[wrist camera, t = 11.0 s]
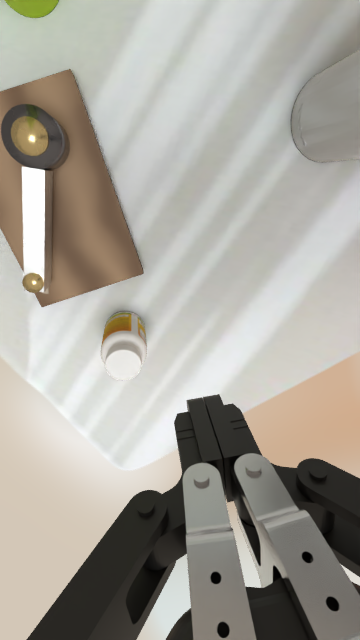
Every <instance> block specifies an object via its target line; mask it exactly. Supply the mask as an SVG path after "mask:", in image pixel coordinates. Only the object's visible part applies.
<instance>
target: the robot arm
mask: <svg viewBox="0 0 360 640" xmlns="http://www.w3.org/2000/svg"><path fill="white" fill-rule="evenodd" d="M291 127H292V134H293V139H294V141H295V143H296V146H297V148H298V149H299V150H300V152H301V153H302V154H303V155H304V156H306V157H307V158H308V159H311V160H313V161H316V162H333V161H345V160H355V159H360V50H358V51H356V52H355V53H353V54H351V55H350V56H348V57H346V58H344V59H343V60H341V61H339V62H337V63H336V64H334V65H332V66H331V67H329V68H327V69H326V70H324V71H322V72H321V73H319V74H317V75H316V76H314V77H313V78H312V79H311V80H310V81H308V82H307V83H306V85H305V86H304V87H303V89H302V90H301V91H300V93H299V95H298V97H297V99H296V102H295V105H294V108H293V112H292V119H291ZM187 408H188V412H184V413H179V414H177V416H176V419H175V422H174V424H175V431H176V437H177V444H178V450H179V456H180V462H181V468H182V476H181V479H180V480H179V482H178V483H177V485H176V486H174V487H173V488H172V489H170V490H169V491H167V492H165V493H163V494H161V493H159V492H157V491H153V490H147V491H142V492H140V493H138V494H136V495H135V496H134V497H133V498H132V499H131V500H130V501H129V503H128V504H127V506H126V507H125V508H124V509H123V511H122V512H121V513H120V515H119V516H118V518H117V519H116V520H115V522H114V523H113V524H112V526H111V527H110V528H109V530H108V531H107V532H106V534H105V535H104V536H103V538H102V539H101V540H100V542H99V543H98V544H97V546H96V547H95V548H94V550H93V551H92V552H91V554H90V555H89V557H88V558H87V559H86V561H85V562H84V563H83V565H82V566H81V567H80V569H79V570H78V572H77V573H76V574H75V575H74V577H73V578H72V579H71V581H70V582H69V583H68V585H67V586H66V588H65V589H64V590H63V592H62V593H61V594H60V596H59V597H58V598H57V600H56V601H55V602H54V604H53V605H52V606H51V608H50V609H49V610H48V612H47V613H46V614H45V616H44V617H43V618H42V620H41V621H40V623H39V624H38V625H37V627H36V628H35V630H34V631H33V632H32V633H31V635H30V636H29V637H28V639H27V640H136V639H137V637H138V635H139V633H140V632H141V630H142V628H143V626H144V624H145V622H146V620H147V618H148V616H149V614H150V612H151V610H152V608H153V607H154V604H155V603H156V600H157V599H158V597H159V595H160V593H161V591H162V589H163V587H164V585H165V583H166V582H167V580H168V577H169V576H170V574H171V572H172V570H173V568H174V566H175V563H176V560H178V559H179V558H180V557H182V556H184V555H185V554H187V560H188V573H189V586H190V599H191V608H190V609H189V610H188V611H187V612H185V613H184V614H183V615H182V617H181V618H180V619H179V620H178V621H177V622H176V624H175V625H174V627H173V628H172V629H171V631H170V633H169V635H168V636H167V638H166V640H360V586H359V585H357V584H355V583H353V582H351V581H350V579H349V578H348V576H347V574H346V573H345V571H344V569H343V568H342V566H341V565H343V566H344V567H346V568H347V569H349V570H350V571H352V572H353V573H355V574H356V575H357V576H359V577H360V478H358V477H355V476H353V475H351V474H349V473H347V472H345V471H343V470H341V469H339V468H337V467H335V466H333V465H331V464H329V463H327V462H325V461H323V460H320V459H314V458H311V459H306V460H303V461H302V462H300V463H299V465H298V467H297V468H289V467H280V466H277V465H274V464H272V463H270V462H269V460H267V459H266V458H265V457H263V456H262V454H261V452H260V450H259V448H258V446H257V444H256V442H255V440H254V438H253V435H252V433H251V431H250V429H249V428H248V425H247V423H246V421H245V419H244V416H243V414H242V412H241V410H240V409H239V408H237V407H236V406H235V405H234V404H228V405H223V402H222V400H221V397H220V395H219V394H218V395H213V396H207V397H203V398H196V399H191V400H187ZM225 495H226V499H227V502H230V501H234V502H235V506H236V508H237V518H238V523H239V525H240V528H241V530H242V533H243V535H244V538H245V540H246V543H247V546H248V548H249V551H250V553H251V556H252V558H253V561H254V563H255V566H256V568H257V571H258V574H259V578H260V581H261V586H262V588H254V587H245V583H244V578H243V574H242V569H241V564H240V559H239V555H238V550H237V545H236V540H235V536H234V532H233V529H232V528H231V525H230V520H229V516H228V510H227V506H226V499H225ZM340 564H341V565H340Z"/></svg>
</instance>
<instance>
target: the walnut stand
mask: <svg viewBox="0 0 360 640" xmlns="http://www.w3.org/2000/svg"><path fill="white" fill-rule="evenodd" d="M20 104H31V105H35V106H37V107H40V108H41V109H43V110H44V111H46V112H47V113H48V114H49V115H51V116H52V117H53V118H54V119H56V120H57V121H58V122H59V123H60V124H61V125H62V126H63V128H64V129H65V131H66V133H67V135H68V138H69V143H70V150H69V155H68V158H67V160H66V161H65V163H64V164H63V165H62V166H60V167H59V168H57V169H54V170H47V171H53V200H52V274H51V284H50V285H49V287H48V288H47V289H46V290H45V292H36V293H35V295H36V297H37V299H38V301H39V303H40V305H41V307H44V306H47V305H50V304H53V303H56V302H59V301H62V300H65V299H68V298H72V297H75V296H78V295H81V294H84V293H87V292H90V291H93V290H96V289H99V288H102V287H105V286H108V285H111V284H114V283H117V282H120V281H123V280H126V279H129V278H132V277H135V276H138V275H141V274H143V268H142V266H141V263H140V260H139V257H138V254H137V252H136V249H135V246H134V243H133V240H132V238H131V235H130V232H129V229H128V226H127V224H126V221H125V218H124V215H123V212H122V209H121V207H120V204H119V201H118V198H117V195H116V193H115V190H114V187H113V184H112V181H111V179H110V176H109V173H108V170H107V167H106V165H105V162H104V159H103V156H102V153H101V151H100V148H99V145H98V142H97V139H96V137H95V134H94V131H93V128H92V125H91V123H90V120H89V117H88V114H87V111H86V109H85V106H84V103H83V100H82V97H81V94H80V92H79V89H78V86H77V83H76V80H75V78H74V75H73V73H72V71H71V70H70V69H69V70H66V71H63V72H60V73H56V74H53V75H50V76H47V77H44V78H41V79H38V80H35V81H32V82H29V83H26V84H23V85H20V86H17V87H13V88H10V89H7V90H4V91H1V92H0V228H1V230H2V232H3V234H4V236H5V238H6V240H7V242H8V243H9V245H10V247H11V249H12V251H13V253H14V255H15V257H16V259H17V261H18V263H19V265H20V266H21V268H22V270H23V272H24V257H23V205H22V166H23V167H26V166H24V165H22V164H20V163H18V162H17V161H16V160H15V159H13V158H12V156H11V155H10V154H9V153H8V151H7V150H6V148H5V146H4V144H3V141H2V137H1V124H2V120H3V118H4V116H5V114H6V113H7V112H8V111H9V110H10V109H11V108H12V107H14V106H17V105H20Z"/></svg>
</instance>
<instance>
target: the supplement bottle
mask: <svg viewBox="0 0 360 640" xmlns="http://www.w3.org/2000/svg"><path fill="white" fill-rule="evenodd" d="M146 355H147V345H146V334H145V326H144V323H143V321H142V320H141V318H140V317H139V316H137V315H136V314H134V313H131V312H118V313H116V314H114V315H112V316H111V317H110V318H109V319H108V321H107V323H106V325H105V329H104V335H103V341H102V346H101V358H102V360H103V362H104V364H105V369H106V371H107V373H108V374H109V375H110V376H111V377H112V378H114V379H116V380H121V381H125V380H130V379H132V378H134V377H136V376H137V375H138V373H139V372H140V370H141V367H142V364H143V363H144V361H145V359H146Z"/></svg>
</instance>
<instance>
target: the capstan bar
mask: <svg viewBox="0 0 360 640" xmlns="http://www.w3.org/2000/svg"><path fill="white" fill-rule="evenodd" d="M1 137H2V141H3V144H4V146H5V148H6V150H7V151H8V153H9V154H10V155H11V156H12V158H13V159H15V160H16V161H17V162H18V163H20V164H22V165H24V166H26V167H23V166H22V205H23V257H24V278H23V282H22V283H23V286H24V290H27V291H29V292H32V293H36V292H45V290H46V289H47V288H48V287H49V285H50V284H51V274H52V200H53V171H47V170H54V169H57V168H59V167H60V166H62V165H63V164H64V163H65V161H66V160H67V158H68V155H69V150H70V143H69V138H68V135H67V133H66V131H65V129H64V128H63V126H62V125H61V124H60V123H59V122H58V121H57V120H56V119H54V118H53V117H52V116H51V115H49V114H48V113H47V112H46V111H44V110H43V109H41V108H40V107H37V106H35V105H31V104H20V105H17V106H14V107H12V108H11V109H10V110H9V111H8V112H7V113H6V114H5V116H4V118H3V120H2V124H1Z"/></svg>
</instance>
